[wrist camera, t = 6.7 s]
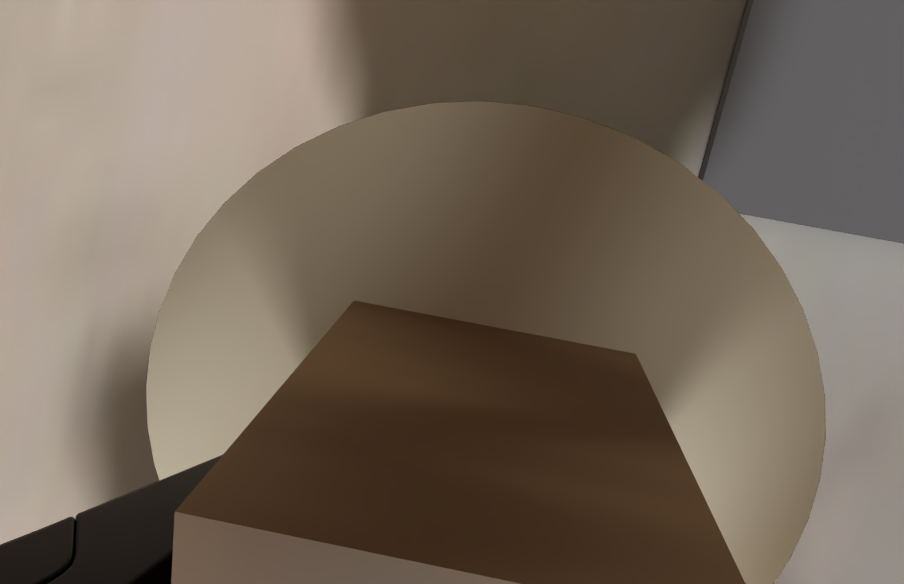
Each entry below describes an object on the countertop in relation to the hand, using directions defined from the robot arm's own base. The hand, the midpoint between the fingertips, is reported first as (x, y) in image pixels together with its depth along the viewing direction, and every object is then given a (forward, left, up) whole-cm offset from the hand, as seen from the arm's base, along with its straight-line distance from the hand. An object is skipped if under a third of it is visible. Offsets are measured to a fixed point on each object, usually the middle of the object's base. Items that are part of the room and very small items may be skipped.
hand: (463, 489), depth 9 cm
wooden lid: (0, 0, -2) cm, 2 cm away
